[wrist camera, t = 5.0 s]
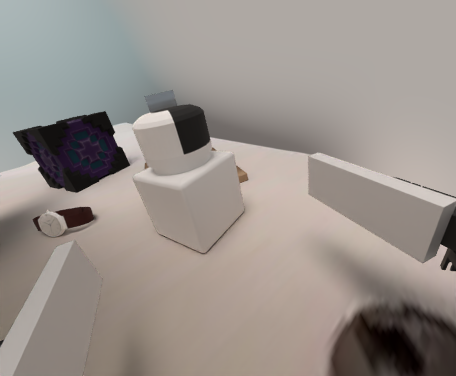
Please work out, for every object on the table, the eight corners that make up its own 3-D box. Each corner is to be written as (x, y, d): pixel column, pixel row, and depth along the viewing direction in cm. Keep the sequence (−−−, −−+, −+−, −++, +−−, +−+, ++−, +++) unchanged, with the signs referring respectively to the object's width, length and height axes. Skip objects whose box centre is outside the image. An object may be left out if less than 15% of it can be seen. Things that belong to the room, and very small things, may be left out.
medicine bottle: (200, 199, 27) (170, 103, 22) (246, 211, 23) (224, 95, 17) (156, 234, 22) (104, 123, 17) (204, 256, 18) (157, 118, 13)
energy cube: (50, 187, 45) (12, 132, 39) (101, 164, 53) (76, 116, 47) (77, 192, 38) (36, 128, 33) (130, 165, 47) (105, 111, 41)
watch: (31, 241, 27) (12, 219, 25) (60, 218, 31) (45, 198, 29) (82, 236, 25) (66, 212, 24) (105, 213, 29) (92, 191, 28)
